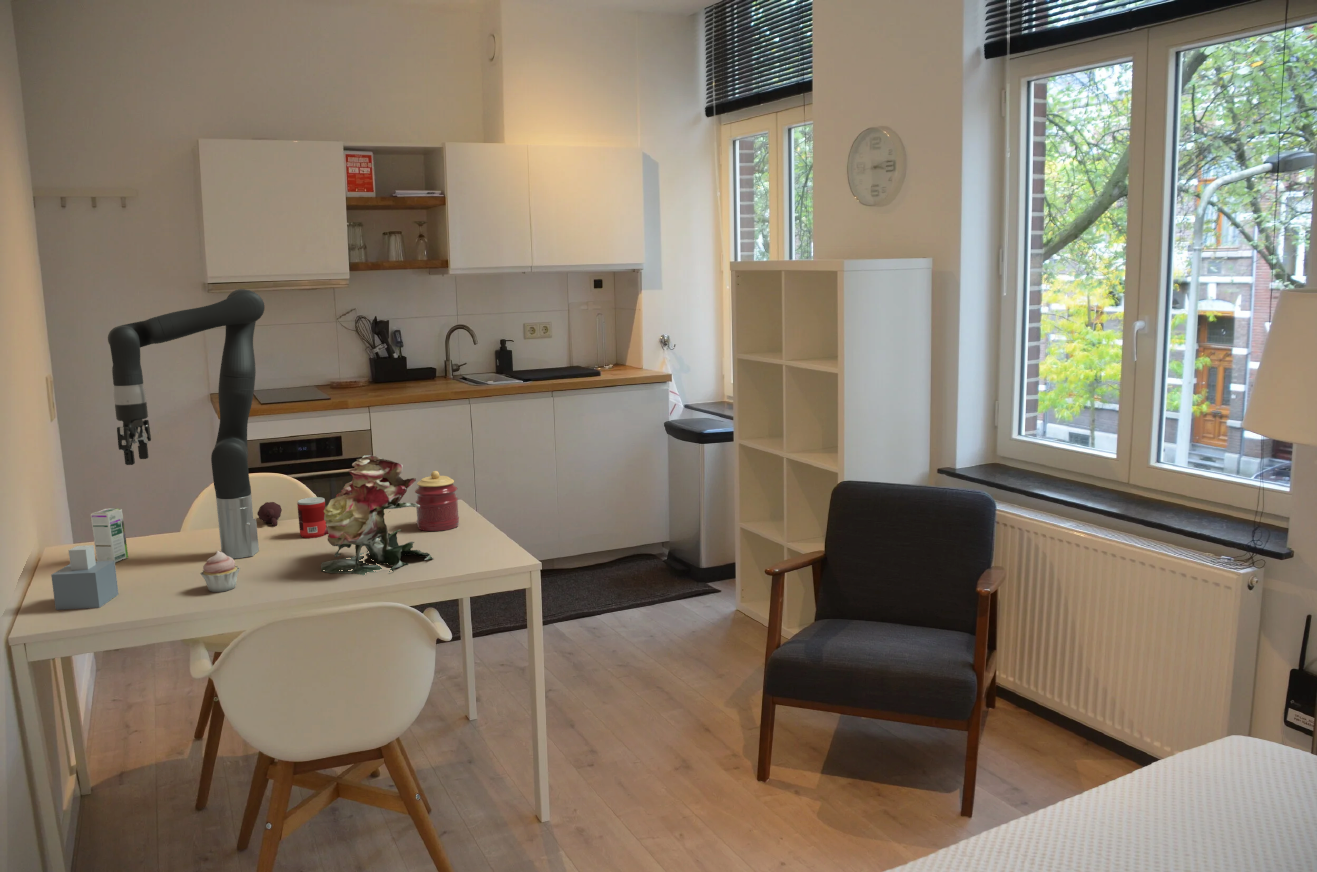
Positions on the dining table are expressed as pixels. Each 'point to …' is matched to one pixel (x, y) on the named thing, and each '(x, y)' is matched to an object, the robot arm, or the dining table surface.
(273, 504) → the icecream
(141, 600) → the dining table surface
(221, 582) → the cupcake
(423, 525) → the canister
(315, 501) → the canned food
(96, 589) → the cube with small cube
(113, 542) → the syrup box
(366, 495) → the rose bouquet
